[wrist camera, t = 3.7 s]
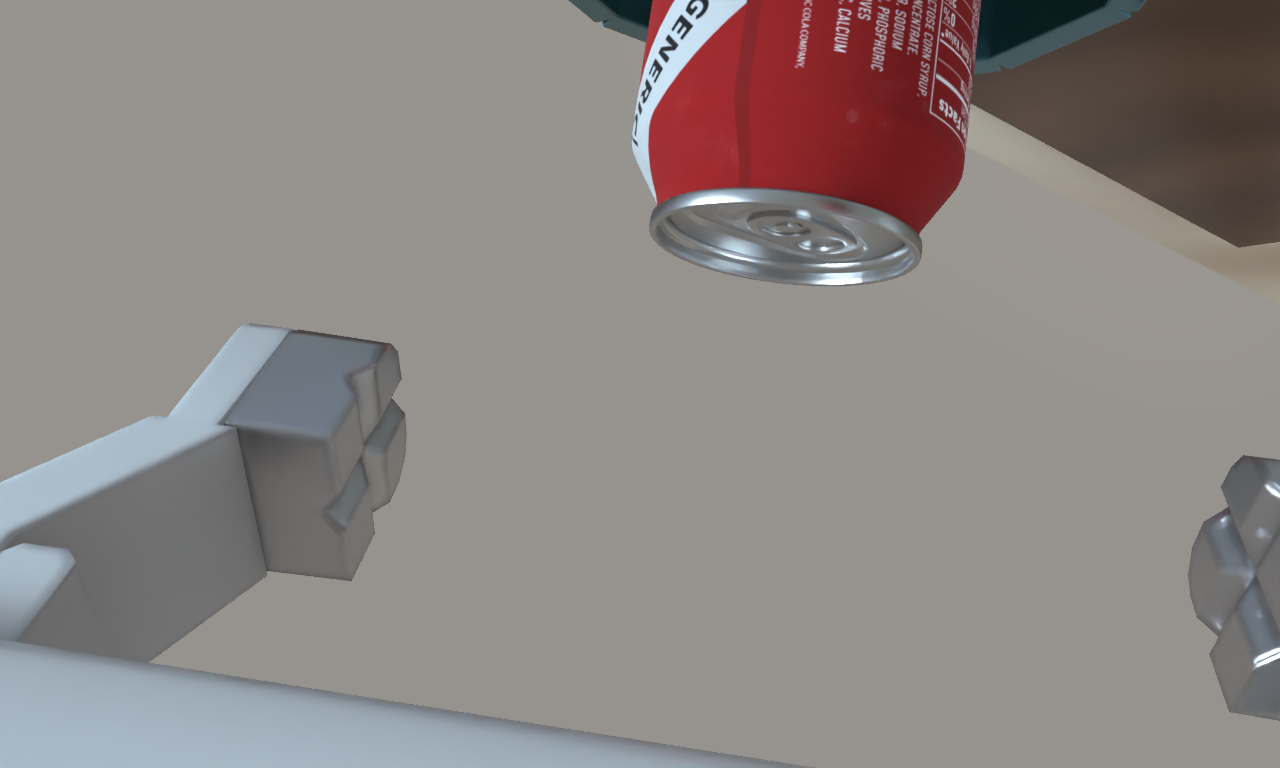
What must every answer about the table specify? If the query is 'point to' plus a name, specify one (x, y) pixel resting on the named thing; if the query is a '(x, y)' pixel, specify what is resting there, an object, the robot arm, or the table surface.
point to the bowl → (1007, 34)
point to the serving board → (1165, 109)
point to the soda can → (803, 132)
